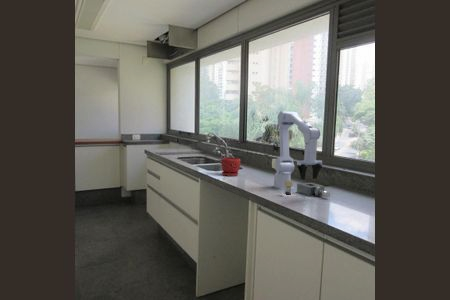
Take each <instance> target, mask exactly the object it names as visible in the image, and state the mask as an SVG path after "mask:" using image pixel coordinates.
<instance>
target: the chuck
mask: <svg viewBox="0 0 450 300" xmlns="http://www.w3.org/2000/svg"><path fill="white" fill-rule="evenodd" d="M296 185H297V186H296V193H297V194H298V193H299V194H301V193H302V194H301V195H304V194H305V195H304V196H307V197H314V196H315V197H322V196H323V197H326V198H330V196H331V193H330V191H329V192H328V191H326V190H325V185H322V184H319V183H314V182H305V183H303V182H302V183H300V182H299V183H297V184H296Z"/></svg>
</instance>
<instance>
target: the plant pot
mask: <svg viewBox="0 0 450 300" xmlns="http://www.w3.org/2000/svg"><path fill="white" fill-rule="evenodd" d="M240 167H241V159H240V158H238V157H222V158H221V169H222V172H221V174H222V175H223V176H225V175H227V176H226V177H236V176H238V175H239V171H240Z"/></svg>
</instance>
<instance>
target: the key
mask: <svg viewBox="0 0 450 300" xmlns="http://www.w3.org/2000/svg"><path fill="white" fill-rule="evenodd" d="M285 186H286V187H285V189H284V193H285V194H286V195H291V193H292V189H291V188H292V187H293V181H291V180H290V181H285Z"/></svg>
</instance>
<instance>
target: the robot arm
mask: <svg viewBox="0 0 450 300" xmlns="http://www.w3.org/2000/svg"><path fill="white" fill-rule="evenodd" d="M294 125H295V126H297V129H298V131H300V133H302V136H303V142H304V154H303V155H304V156H303V160H297V161H296V167H297V169H298V172H299V175H300V180H303V181H304V180H306V174H307V169H308V166H309V165H311V169H312V179H314V180H317V178H318V175H319V172H321V171H320V170H322V167H323V160H320V159H319V160H317V150H318V149H317V147H318V139H320V137H321V131H320V129H319V127H313V125H312V124H310V123H309V122H308V120H303V119H301V118H300V116H299V113H297V112H296V111H288V110H287V111H285V110H280V111H279V113H278V114H277V126H278V127H279V128H278V129H279V156H278V157H277V158H276V159H275V165H274V170H275V171H276V172H275V174H274V178H273V185H272V188H273V187H274V188H277V189H279V190H285V187H286V186H285V181H291V178H292V177H291V174H292V173H293V172H294V170H295V164H294V158H292V157H291V156H290V140H289V139H290V137H289V136H290V135H289V134H290V133H289V129H290V127H293V126H294ZM293 189H294V187H291V190H293Z"/></svg>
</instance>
